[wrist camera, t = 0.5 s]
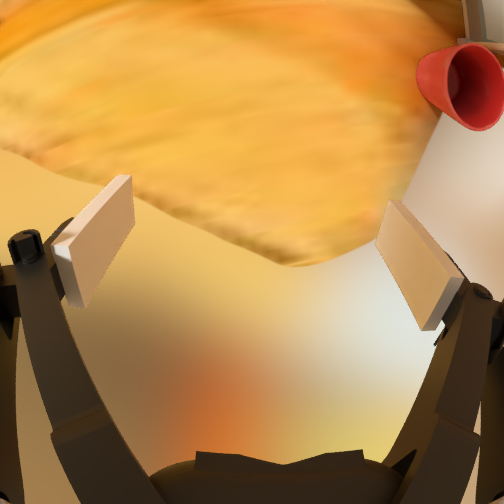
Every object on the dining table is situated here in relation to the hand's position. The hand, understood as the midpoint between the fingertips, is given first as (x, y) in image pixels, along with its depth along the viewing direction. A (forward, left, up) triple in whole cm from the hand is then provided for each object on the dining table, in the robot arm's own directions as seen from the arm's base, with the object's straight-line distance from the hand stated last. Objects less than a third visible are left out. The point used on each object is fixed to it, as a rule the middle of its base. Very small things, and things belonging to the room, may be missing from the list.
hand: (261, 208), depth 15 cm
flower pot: (-6, +26, -27) cm, 38 cm away
